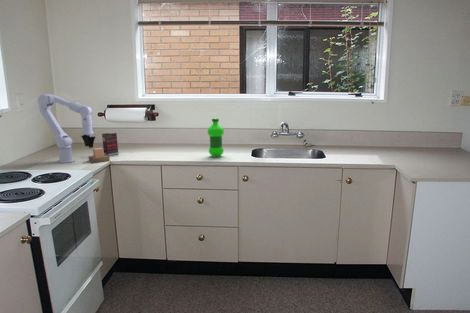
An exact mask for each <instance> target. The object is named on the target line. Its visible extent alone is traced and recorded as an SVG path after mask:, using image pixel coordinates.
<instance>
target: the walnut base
mask: <svg viewBox="0 0 470 313" xmlns="http://www.w3.org/2000/svg"><path fill="white" fill-rule="evenodd" d="M88 161H89V162H90V163H93V164H97V163H105V162H106V163H107V162H110V157H109V156H107V155H104V156H103V157H94V156H93V155H89V156H88Z"/></svg>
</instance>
